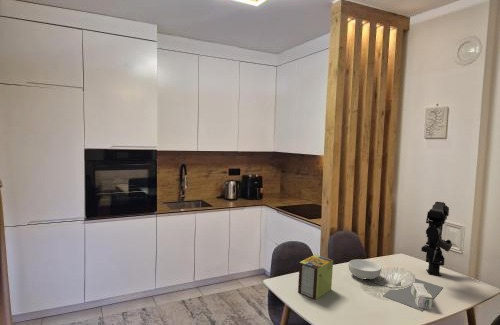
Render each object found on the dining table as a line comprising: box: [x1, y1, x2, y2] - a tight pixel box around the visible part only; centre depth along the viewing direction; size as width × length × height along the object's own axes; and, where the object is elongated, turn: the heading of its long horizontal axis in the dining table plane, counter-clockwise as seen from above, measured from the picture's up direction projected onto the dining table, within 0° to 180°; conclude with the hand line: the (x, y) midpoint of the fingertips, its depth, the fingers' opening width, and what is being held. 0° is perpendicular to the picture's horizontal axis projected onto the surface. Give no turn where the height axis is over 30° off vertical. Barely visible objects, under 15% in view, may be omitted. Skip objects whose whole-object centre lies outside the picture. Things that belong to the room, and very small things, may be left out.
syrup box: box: [411, 282, 433, 310], centre depth 154 cm, size 6×6×14 cm
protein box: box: [297, 254, 334, 301], centre depth 160 cm, size 10×15×16 cm
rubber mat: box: [382, 278, 444, 312], centre depth 164 cm, size 34×18×1 cm, turn 136°
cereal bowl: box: [348, 258, 382, 281], centre depth 179 cm, size 17×17×7 cm
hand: (431, 262), depth 173 cm, fingers closed
